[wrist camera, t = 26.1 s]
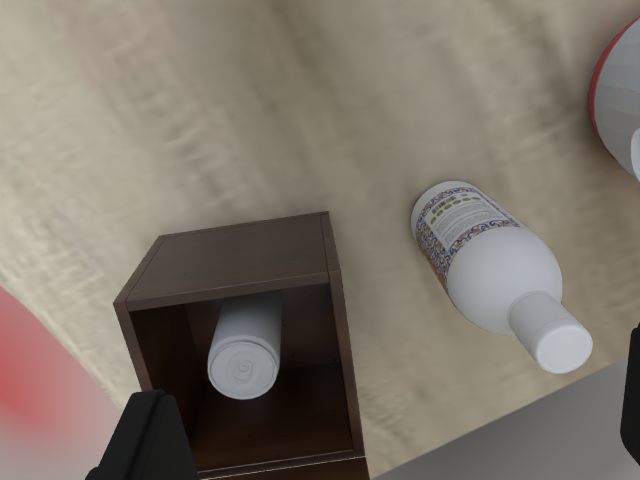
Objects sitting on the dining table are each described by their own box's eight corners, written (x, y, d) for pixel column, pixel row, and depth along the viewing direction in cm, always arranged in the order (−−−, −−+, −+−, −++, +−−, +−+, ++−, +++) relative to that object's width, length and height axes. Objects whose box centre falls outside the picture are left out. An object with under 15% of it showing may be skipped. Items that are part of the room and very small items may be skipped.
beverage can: (289, 271, 44) (288, 350, 33) (273, 317, 45) (267, 408, 34) (235, 256, 43) (215, 332, 32) (221, 304, 44) (198, 392, 33)
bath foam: (392, 227, 43) (466, 367, 25) (444, 163, 42) (566, 262, 23) (452, 268, 45) (563, 427, 27) (504, 208, 43) (663, 334, 25)
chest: (158, 235, 43) (112, 302, 32) (328, 210, 43) (340, 269, 32) (200, 384, 48) (172, 484, 38) (349, 362, 48) (365, 456, 37)
